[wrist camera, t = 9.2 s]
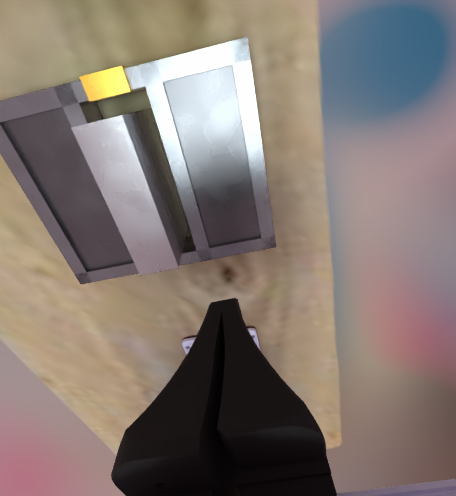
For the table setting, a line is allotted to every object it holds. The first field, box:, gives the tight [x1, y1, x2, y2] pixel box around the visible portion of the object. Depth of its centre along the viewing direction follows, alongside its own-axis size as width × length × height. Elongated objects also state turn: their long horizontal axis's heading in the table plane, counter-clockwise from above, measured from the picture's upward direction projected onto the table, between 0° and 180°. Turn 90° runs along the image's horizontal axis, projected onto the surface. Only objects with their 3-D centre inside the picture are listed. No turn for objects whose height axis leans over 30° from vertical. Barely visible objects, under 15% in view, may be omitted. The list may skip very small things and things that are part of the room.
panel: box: [71, 109, 188, 276], centre depth 18 cm, size 9×3×6 cm, turn 12°
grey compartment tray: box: [0, 37, 276, 284], centre depth 19 cm, size 13×16×3 cm
